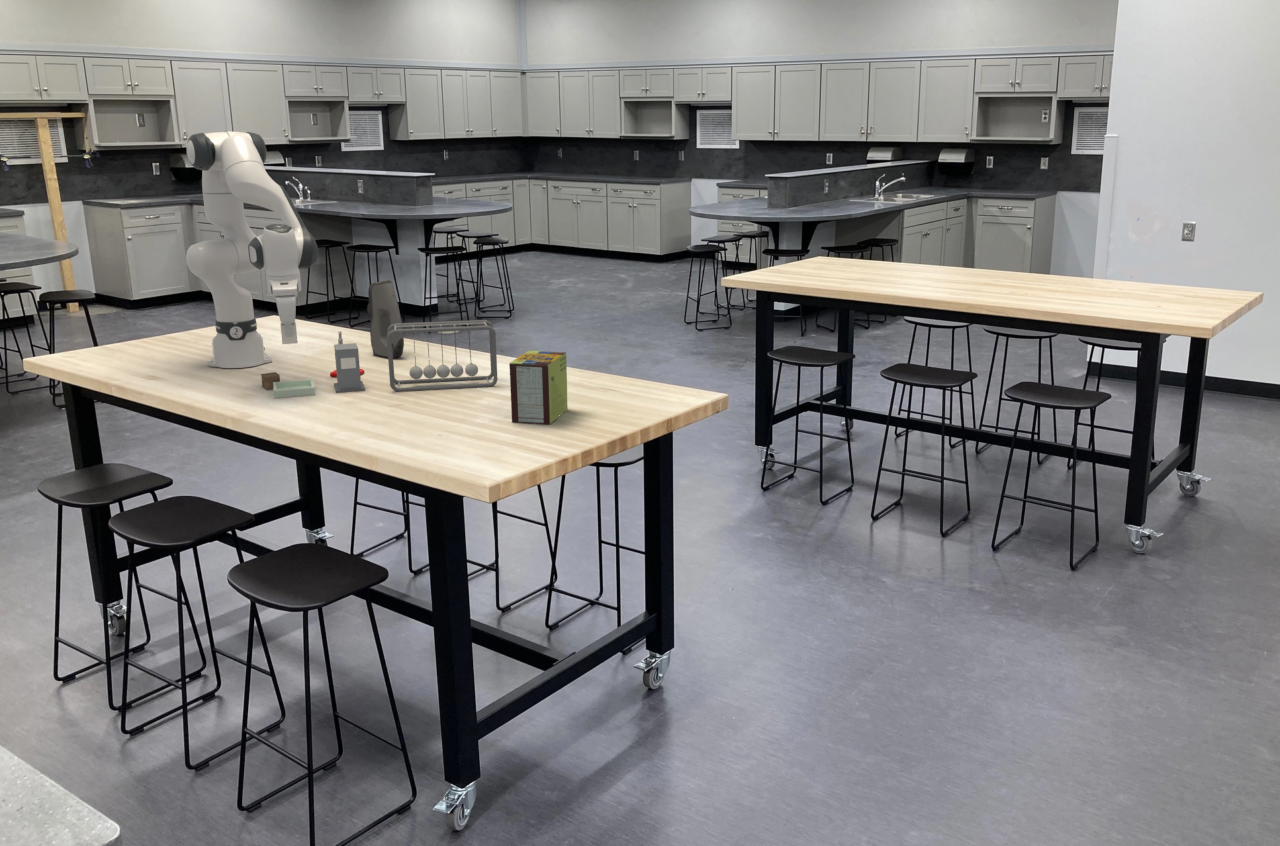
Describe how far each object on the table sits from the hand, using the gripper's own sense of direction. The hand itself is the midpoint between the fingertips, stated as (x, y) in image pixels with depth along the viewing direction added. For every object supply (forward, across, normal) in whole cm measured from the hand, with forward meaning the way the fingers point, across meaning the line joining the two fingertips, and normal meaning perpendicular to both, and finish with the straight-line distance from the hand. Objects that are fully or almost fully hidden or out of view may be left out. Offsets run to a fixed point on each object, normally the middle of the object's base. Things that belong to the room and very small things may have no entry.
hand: (289, 334), depth 291 cm
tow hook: (+17, -18, +16) cm, 29 cm away
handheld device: (+16, -40, +31) cm, 53 cm away
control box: (+16, 0, +15) cm, 22 cm away
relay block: (+2, 0, 0) cm, 2 cm away
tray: (+16, 0, 0) cm, 16 cm away
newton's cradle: (+17, +6, +41) cm, 45 cm away
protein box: (+17, +48, +59) cm, 78 cm away
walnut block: (+16, -8, -6) cm, 19 cm away
